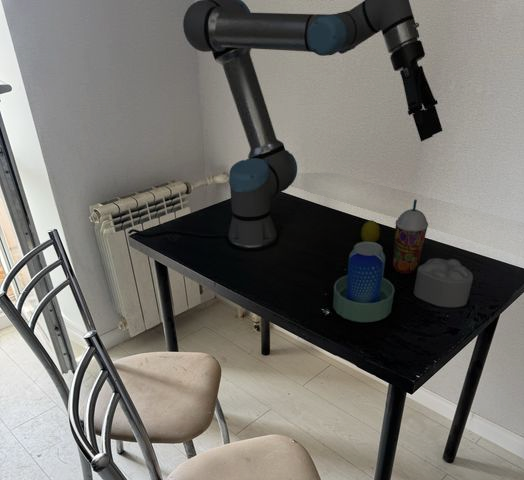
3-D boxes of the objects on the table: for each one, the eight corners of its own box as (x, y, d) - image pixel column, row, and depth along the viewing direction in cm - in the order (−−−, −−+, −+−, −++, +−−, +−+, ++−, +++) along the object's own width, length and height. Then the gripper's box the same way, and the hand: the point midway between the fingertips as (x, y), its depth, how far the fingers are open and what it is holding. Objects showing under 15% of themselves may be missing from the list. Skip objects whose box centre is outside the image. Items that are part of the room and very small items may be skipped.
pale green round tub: (335, 323, 121) (336, 304, 118) (331, 291, 133) (332, 273, 129) (396, 323, 120) (399, 303, 117) (386, 291, 132) (389, 272, 128)
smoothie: (387, 274, 139) (396, 204, 126) (391, 260, 145) (401, 192, 133) (418, 278, 136) (430, 207, 124) (421, 264, 143) (434, 195, 130)
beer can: (381, 299, 128) (389, 242, 118) (376, 317, 122) (383, 258, 112) (348, 294, 131) (353, 238, 121) (342, 311, 124) (346, 253, 115)
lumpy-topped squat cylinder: (429, 279, 136) (435, 250, 130) (475, 296, 129) (483, 266, 123) (408, 294, 130) (413, 265, 125) (455, 313, 123) (463, 282, 117)
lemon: (377, 241, 155) (380, 216, 150) (379, 249, 150) (382, 224, 146) (359, 240, 155) (361, 216, 150) (360, 249, 151) (362, 224, 146)
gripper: (408, 35, 107) (438, 134, 112) (430, 40, 126) (455, 124, 132) (375, 54, 111) (406, 148, 116) (401, 56, 130) (427, 137, 136)
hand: (432, 136), depth 124 cm, fingers open, 13 cm apart
